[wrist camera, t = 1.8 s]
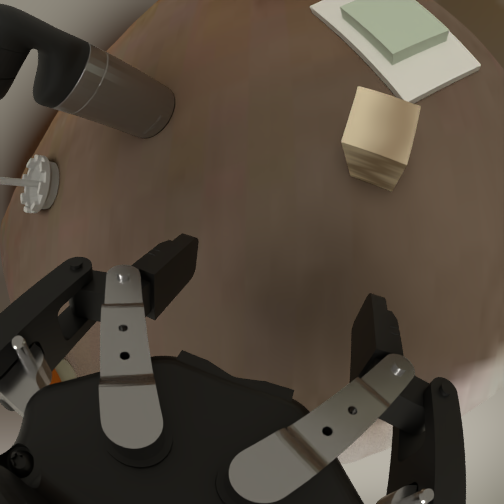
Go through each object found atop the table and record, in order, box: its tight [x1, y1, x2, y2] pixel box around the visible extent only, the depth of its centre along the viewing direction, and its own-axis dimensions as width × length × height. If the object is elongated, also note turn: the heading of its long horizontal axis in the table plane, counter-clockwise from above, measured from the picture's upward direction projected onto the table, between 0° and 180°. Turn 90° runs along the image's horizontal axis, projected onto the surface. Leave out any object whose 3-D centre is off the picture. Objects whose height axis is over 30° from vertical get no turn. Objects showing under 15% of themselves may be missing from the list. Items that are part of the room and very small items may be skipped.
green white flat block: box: [310, 0, 481, 104], centre depth 24 cm, size 20×14×4 cm
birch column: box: [341, 86, 421, 192], centre depth 23 cm, size 5×5×12 cm
